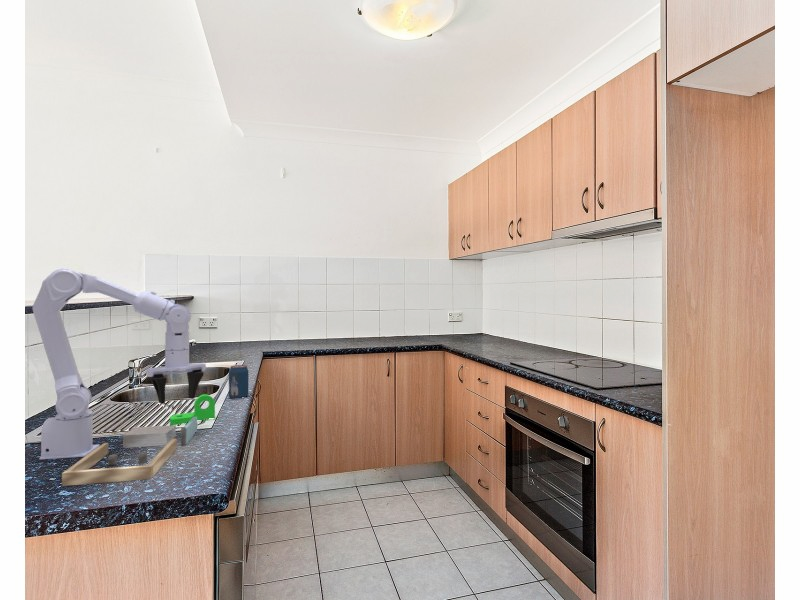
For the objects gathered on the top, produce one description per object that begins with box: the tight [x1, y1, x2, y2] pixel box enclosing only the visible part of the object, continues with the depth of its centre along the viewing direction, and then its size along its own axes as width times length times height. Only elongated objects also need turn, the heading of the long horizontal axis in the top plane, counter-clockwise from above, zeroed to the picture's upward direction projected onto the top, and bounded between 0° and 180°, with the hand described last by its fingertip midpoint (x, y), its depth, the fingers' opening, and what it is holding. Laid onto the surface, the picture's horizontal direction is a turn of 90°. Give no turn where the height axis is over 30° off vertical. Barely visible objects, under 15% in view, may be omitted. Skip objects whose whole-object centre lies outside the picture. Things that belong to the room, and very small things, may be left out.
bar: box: [183, 417, 198, 445], centre depth 118 cm, size 1×12×4 cm, turn 13°
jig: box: [61, 426, 187, 487], centre depth 100 cm, size 18×22×4 cm
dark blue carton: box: [228, 364, 249, 398], centre depth 166 cm, size 7×7×12 cm
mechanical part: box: [169, 393, 216, 426], centre depth 135 cm, size 12×6×8 cm, turn 120°
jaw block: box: [122, 425, 177, 449], centre depth 114 cm, size 10×7×4 cm
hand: (177, 400), depth 119 cm, fingers open, 7 cm apart
